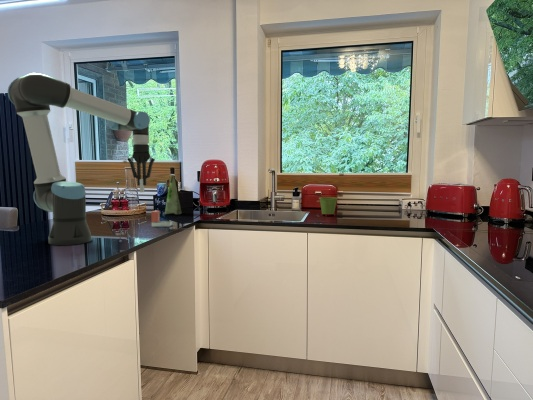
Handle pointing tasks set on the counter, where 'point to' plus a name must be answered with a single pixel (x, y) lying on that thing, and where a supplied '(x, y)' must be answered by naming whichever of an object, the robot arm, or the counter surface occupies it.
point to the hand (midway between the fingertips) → (142, 192)
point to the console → (162, 224)
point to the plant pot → (328, 204)
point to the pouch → (172, 198)
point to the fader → (155, 216)
